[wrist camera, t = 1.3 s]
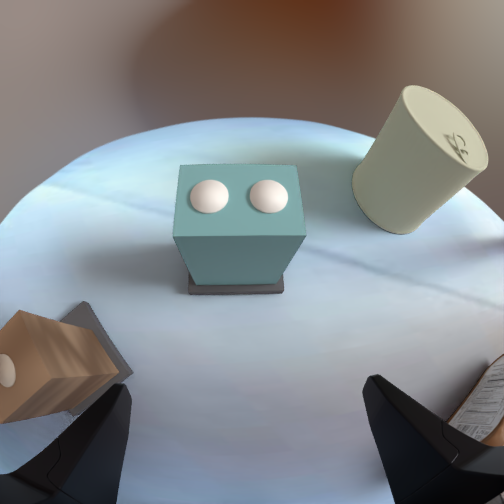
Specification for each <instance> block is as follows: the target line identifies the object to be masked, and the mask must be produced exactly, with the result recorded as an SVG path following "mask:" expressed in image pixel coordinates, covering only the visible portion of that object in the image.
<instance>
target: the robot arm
mask: <svg viewBox="0 0 504 504" xmlns="http://www.w3.org/2000/svg"><path fill="white" fill-rule="evenodd" d="M362 393H363V398H364V402H365V407H366V411H367V416H368V420H369V424H370V428H371V431H372V434H373V436H374V439H375V442H376V445H377V448H378V451H379V454H380V457H381V460H382V463H383V466H384V469H385V472H386V476H387V479H388V482H389V485H390V489H391V492H392V495H393V498H394V502H395V504H504V446H489V445H486V444H484V443H482V442H480V441H478V440H476V439H474V438H472V437H470V436H468V435H466V434H464V433H463V432H461V431H459V430H457V429H456V428H454V427H453V426H451V425H450V424H448V423H447V422H445V421H444V420H441V418H439V417H438V416H437V415H435V414H434V413H432V412H431V411H429V410H428V409H427V408H425V407H424V406H422V405H421V404H420V403H418V402H417V401H415V400H414V399H412V398H411V397H410V396H408V395H407V394H406V393H404V392H403V391H401V390H400V389H399V388H397V387H396V386H394V385H393V384H392V383H390V382H389V381H388V380H386V379H385V378H383V377H382V376H381V375H379V374H376V375H371V376H369V377H368V378H367V381H366V383H365V385H364V388H363V392H362ZM131 405H132V399H131V396H130V393H129V391H128V389H127V386H126V385H125V384H122V383H114V384H113V385H112V386H111V387H110V388H108V389H107V390H106V391H105V392H104V393H103V394H102V395H101V396H100V397H99V398H98V399H97V400H96V401H95V402H94V403H93V404H92V405H91V406H90V407H89V408H88V409H86V410H85V411H84V412H83V413H82V414H81V415H80V416H79V417H78V418H77V419H76V420H75V421H74V422H73V423H72V424H71V425H70V426H69V427H68V428H67V429H66V430H64V431H63V432H62V433H61V434H60V435H59V436H58V438H56V439H55V440H54V441H53V442H52V443H51V444H50V445H49V446H47V447H46V448H45V449H44V450H43V451H42V452H40V453H39V454H38V455H36V456H35V457H34V458H32V459H31V460H30V461H28V462H27V463H26V464H24V465H23V466H21V467H20V468H19V469H17V470H16V471H14V472H11V473H8V474H1V475H0V504H116V502H117V495H118V488H119V482H120V477H121V471H122V465H123V460H124V455H125V450H126V445H127V440H128V434H129V424H130V414H131Z"/></svg>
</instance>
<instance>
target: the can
mask: <svg viewBox="0 0 504 504" xmlns="http://www.w3.org/2000/svg"><path fill="white" fill-rule="evenodd" d="M487 164H488V154H487V150H486V147H485V145H484V142H483V140H482V139H481V137H480V135H479V133H478V132H477V130H476V129H475V127H474V126H473V125H472V123H471V122H470V121H469V120H468V118H467V117H466V116H465V115H464V114H463V113H462V112H461V111H460V110H459V109H458V108H456V107H455V106H454V105H453V104H452V103H451V102H449V101H448V100H446V99H445V98H443V97H442V96H440V95H438V94H437V93H435V92H433V91H431V90H429V89H426V88H423V87H420V86H407V87H405V88H404V89H403V90H402V92H401V95H400V97H399V99H398V101H397V103H396V105H395V107H394V108H393V110H392V112H391V114H390V116H389V118H388V119H387V121H386V123H385V125H384V126H383V128H382V130H381V132H380V133H379V135H378V137H377V138H376V140H375V141H374V143H373V145H372V146H371V148H370V150H369V151H368V153H367V154H366V156H365V158H364V159H363V161H362V162H361V163H360V164H359V165H358V166H357V168H356V169H355V171H354V173H353V177H352V188H353V193H354V196H355V199H356V201H357V203H358V205H359V206H360V208H361V209H362V211H363V212H364V213H365V214H366V216H367V217H368V218H369V219H370V220H371V221H373V222H374V223H375V224H376V225H378V226H379V227H381V228H382V229H384V230H386V231H389V232H392V233H396V234H407V233H411V232H413V231H415V230H416V229H417V228H418V227H419V226H420V225H421V224H422V223H423V222H424V221H425V220H426V219H427V218H428V217H429V216H431V215H432V214H433V213H434V212H435V211H436V210H438V209H439V208H440V207H441V206H442V205H443V204H445V203H446V202H447V201H448V200H449V199H450V198H452V197H453V196H454V195H455V194H456V193H457V192H458V191H460V190H461V189H462V188H463V187H464V186H465V185H466V184H468V183H469V182H470V181H471V180H472V179H473V178H474V177H475V176H477V174H479V173H480V172H481V171H483V170H485V168H486V167H487Z"/></svg>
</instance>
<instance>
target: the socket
mask: <svg viewBox="0 0 504 504" xmlns="http://www.w3.org/2000/svg"><path fill="white" fill-rule="evenodd" d="M60 322H62V323H66V324H70V325H74V326H77V327H82V328H86V329H90V330H92V331H93V332H94V334H95V336H96V337H97V339H98V341H99V342H100V344H101V345H102V347H103V349H104V350H105V352H106V353H107V355H108V356H109V358H110V359H111V361H112V362H113V364H114V365H115V367H116V368H117V369H118V371H119V373H118V374H117V375H116V376H114V377H113V378H112V379H110V380H109V381H108V382H107V383H105V384H104V385H103V386H101V387H100V388H99V389H98V390H96V391H95V392H94V393H92V394H91V395H90V396H88V397H87V398H86V399H85V400H83V401H82V402H81V403H79V404H78V405H77V406H75V407H74V408H73V409H69V411H70V413H71V414H72V416H76V415H79V414H80V413H81V412H83V411H84V410H85V409H87V408H88V407H89V406H91V405H92V404H93V403H94V402H95V401H96V400H97V399H98V398H99V397H100V396H101V395H102V394H103V393H104V392H105V391H106V390H107V389H108V388H110V387H111V386H112V385H113V384H114V383H121V382H122V381H124V380H125V379H126V378H128V377H129V376H130V375H131V374H133V371H132V370H131V368H130V367H129V366H128V364H127V363H126V362H125V360H124V359H123V357H122V356H121V354H120V353H119V351H118V350H117V348H116V347H115V345H114V344H113V342H112V341H111V339H110V338H109V336H108V335H107V333H106V331H105V330H104V328H103V327H102V325H101V323H100V322H99V320H98V318H97V317H96V315H95V313H94V312H93V310H92V308H91V306H90V305H89V303H87V302H85V301H83V302H82V303H80V304H79V305H78V306H77V307H76V308H75V309H74V310H72V311H71V312H70V313H69V314H68V315H67V316H66V317H65V318H63V319H62V320H61V321H60Z"/></svg>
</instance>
